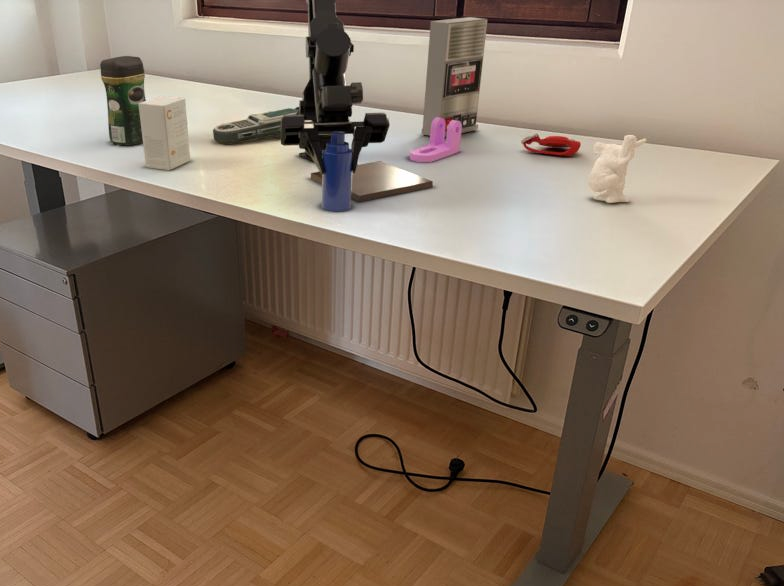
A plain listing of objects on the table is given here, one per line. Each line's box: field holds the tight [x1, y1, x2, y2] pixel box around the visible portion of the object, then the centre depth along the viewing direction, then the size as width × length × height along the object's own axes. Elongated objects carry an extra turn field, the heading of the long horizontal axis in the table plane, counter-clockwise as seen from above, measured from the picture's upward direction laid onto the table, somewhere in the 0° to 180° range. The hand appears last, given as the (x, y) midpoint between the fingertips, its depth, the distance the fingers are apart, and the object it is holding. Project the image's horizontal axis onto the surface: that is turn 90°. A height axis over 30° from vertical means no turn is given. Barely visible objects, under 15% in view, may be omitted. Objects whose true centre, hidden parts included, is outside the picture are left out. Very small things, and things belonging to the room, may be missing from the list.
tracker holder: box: [520, 133, 582, 157], centre depth 163 cm, size 12×4×10 cm
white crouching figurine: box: [588, 134, 647, 204], centre depth 132 cm, size 8×7×12 cm
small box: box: [138, 95, 191, 171], centre depth 154 cm, size 8×6×13 cm
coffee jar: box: [99, 55, 147, 146], centre depth 169 cm, size 10×8×19 cm
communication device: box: [212, 106, 299, 145], centre depth 176 cm, size 12×24×9 cm, turn 117°
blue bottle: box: [321, 131, 353, 212], centre depth 129 cm, size 5×5×13 cm
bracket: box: [409, 117, 462, 163], centre depth 161 cm, size 13×6×7 cm, turn 138°
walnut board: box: [310, 160, 434, 203], centre depth 145 cm, size 17×17×1 cm
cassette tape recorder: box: [420, 16, 489, 138], centre depth 174 cm, size 14×6×25 cm, turn 129°
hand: (338, 172), depth 128 cm, fingers closed on blue bottle, 5 cm apart
